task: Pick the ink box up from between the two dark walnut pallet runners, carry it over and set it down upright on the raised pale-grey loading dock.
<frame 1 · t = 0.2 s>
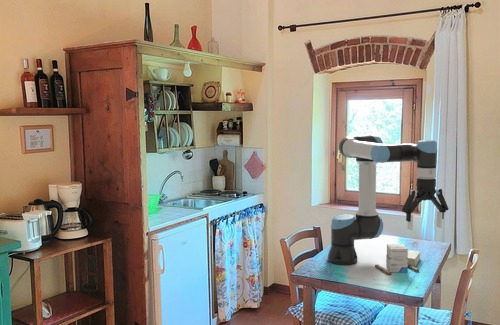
hand: (424, 228, 193), 28 cm above the table, fingers open, 13 cm apart
dock: (403, 260, 237), on the table
ink box: (396, 269, 224), on the table
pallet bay: (396, 269, 224), on the table
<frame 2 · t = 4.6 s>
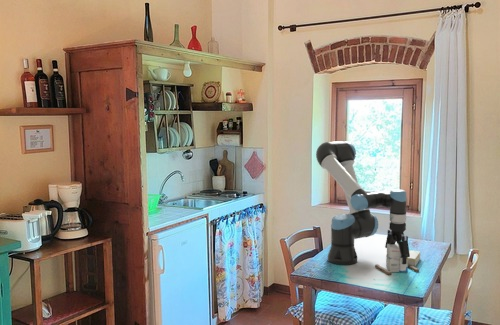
hand: (396, 266, 224), 1 cm above the table, fingers closed on ink box, 10 cm apart
ink box: (396, 269, 224), on the table, touching gripper
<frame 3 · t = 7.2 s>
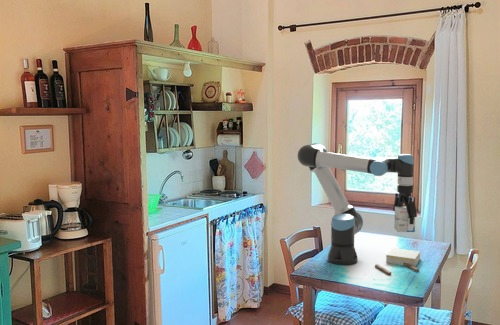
hand: (404, 227, 235), 17 cm above the table, fingers closed on ink box, 10 cm apart
ink box: (404, 230, 236), point 16 cm above the table, touching gripper
when the fingers open (6 cm above the table, at t = 10.1 s): ink box stays where it is, resting on dock.
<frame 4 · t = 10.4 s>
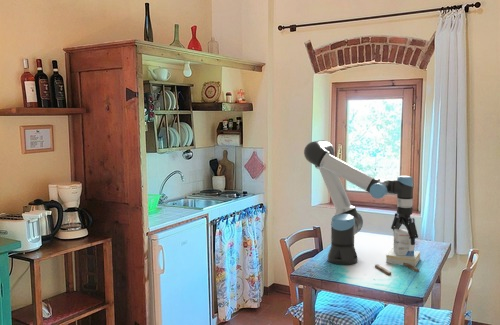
hand: (403, 247, 237), 7 cm above the table, fingers open, 13 cm apart
ink box: (403, 253, 237), point 4 cm above the table, touching dock
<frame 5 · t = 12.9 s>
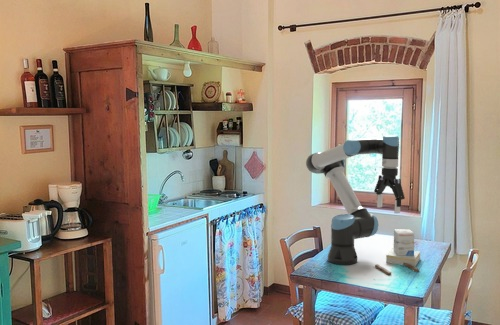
hand: (388, 210, 226), 28 cm above the table, fingers open, 13 cm apart
nothing on the table moved.
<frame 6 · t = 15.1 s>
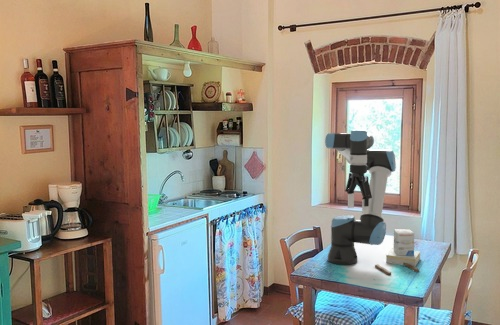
hand: (357, 210, 210), 32 cm above the table, fingers open, 13 cm apart
nothing on the table moved.
at the end: ink box 0.2 cm from the dock (horizontally); ink box point 3.8 cm above the table; ink box tilted 0° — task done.
